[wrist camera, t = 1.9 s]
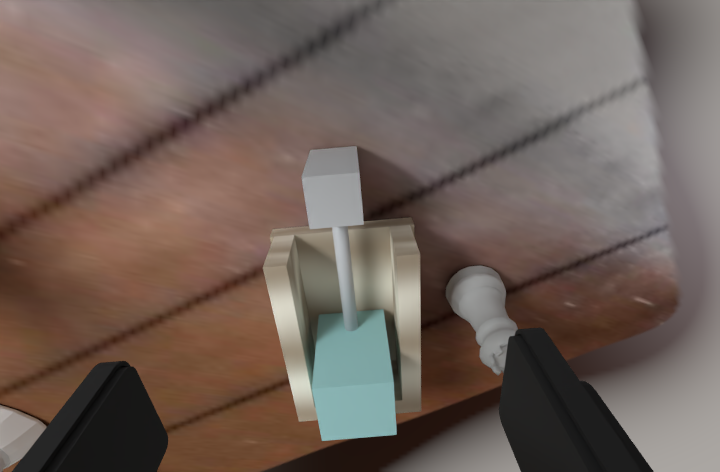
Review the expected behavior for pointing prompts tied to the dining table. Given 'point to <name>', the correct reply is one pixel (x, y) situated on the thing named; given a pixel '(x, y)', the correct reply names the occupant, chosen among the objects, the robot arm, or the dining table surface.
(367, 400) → the cube dumbbell
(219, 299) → the dining table surface
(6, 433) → the soap bottle
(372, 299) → the beige wooden open box
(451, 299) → the rook chess piece
